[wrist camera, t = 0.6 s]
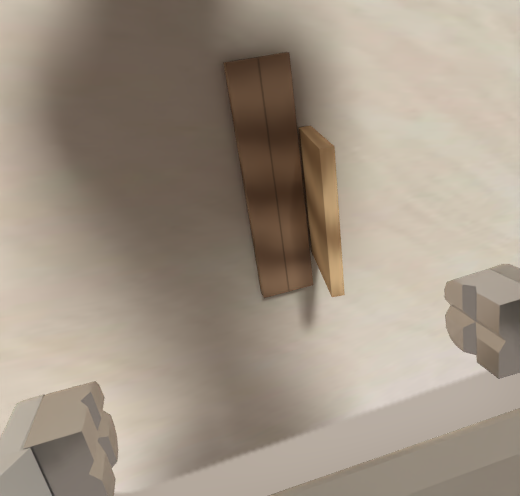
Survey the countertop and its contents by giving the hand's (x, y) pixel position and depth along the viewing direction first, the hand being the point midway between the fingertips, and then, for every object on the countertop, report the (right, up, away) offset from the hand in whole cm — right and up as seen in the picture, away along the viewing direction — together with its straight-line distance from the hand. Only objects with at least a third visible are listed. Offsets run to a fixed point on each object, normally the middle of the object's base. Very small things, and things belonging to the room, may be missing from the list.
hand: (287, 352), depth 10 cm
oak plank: (+6, +6, +32) cm, 33 cm away
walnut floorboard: (+1, +9, +36) cm, 37 cm away
